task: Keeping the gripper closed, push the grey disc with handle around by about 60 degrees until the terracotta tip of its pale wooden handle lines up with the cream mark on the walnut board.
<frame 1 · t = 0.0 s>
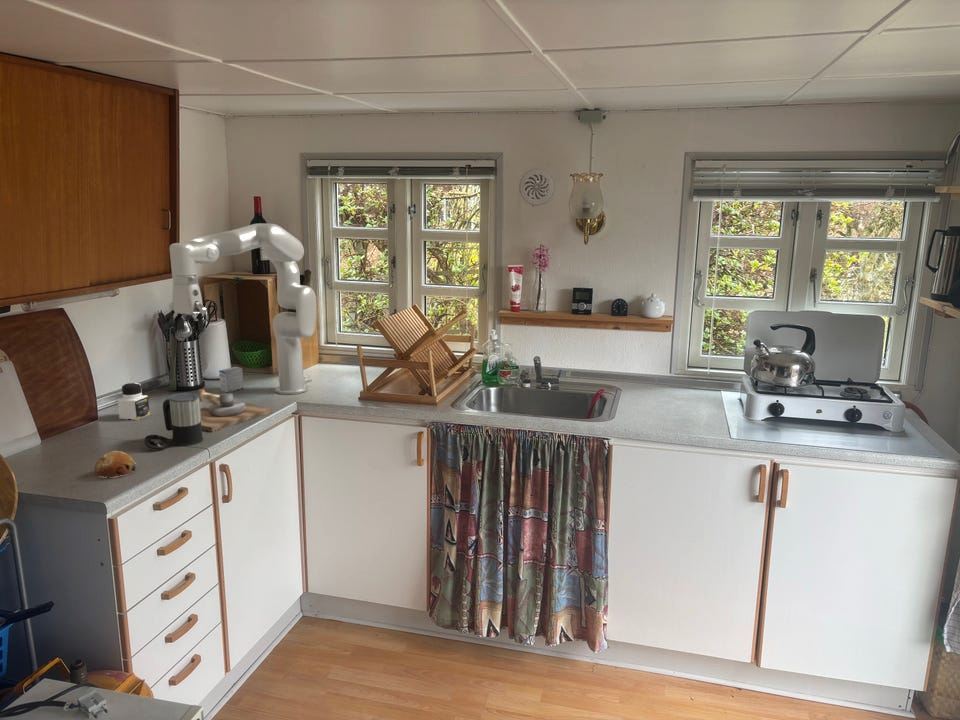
hand: (189, 331, 246), 31 cm above the countertop, tool pointing down, fingers open, 9 cm apart
medicine bottle: (134, 417, 256), on the countertop
board: (221, 417, 255), on the countertop
medicine box: (232, 390, 292), on the countertop
milk frother: (175, 445, 227), on the countertop
grey disc with handle: (219, 401, 257), point 5 cm above the countertop, hinge at 0.0°
bread roll: (117, 473, 203), on the countertop
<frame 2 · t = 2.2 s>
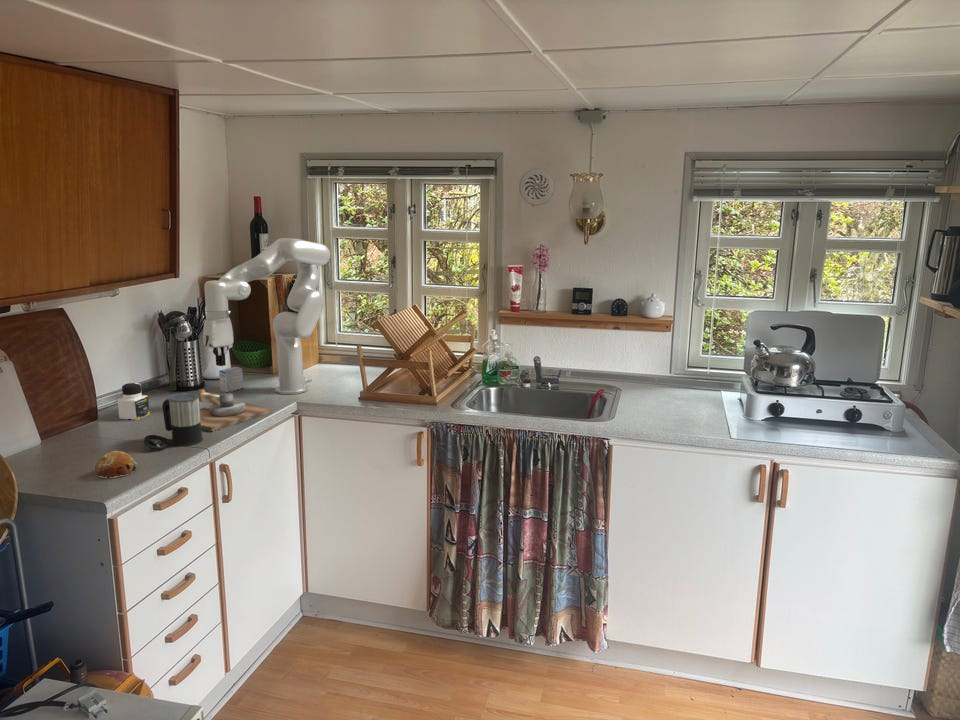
hand: (220, 365, 264), 16 cm above the countertop, tool pointing down, fingers closed
nothing on the countertop moved.
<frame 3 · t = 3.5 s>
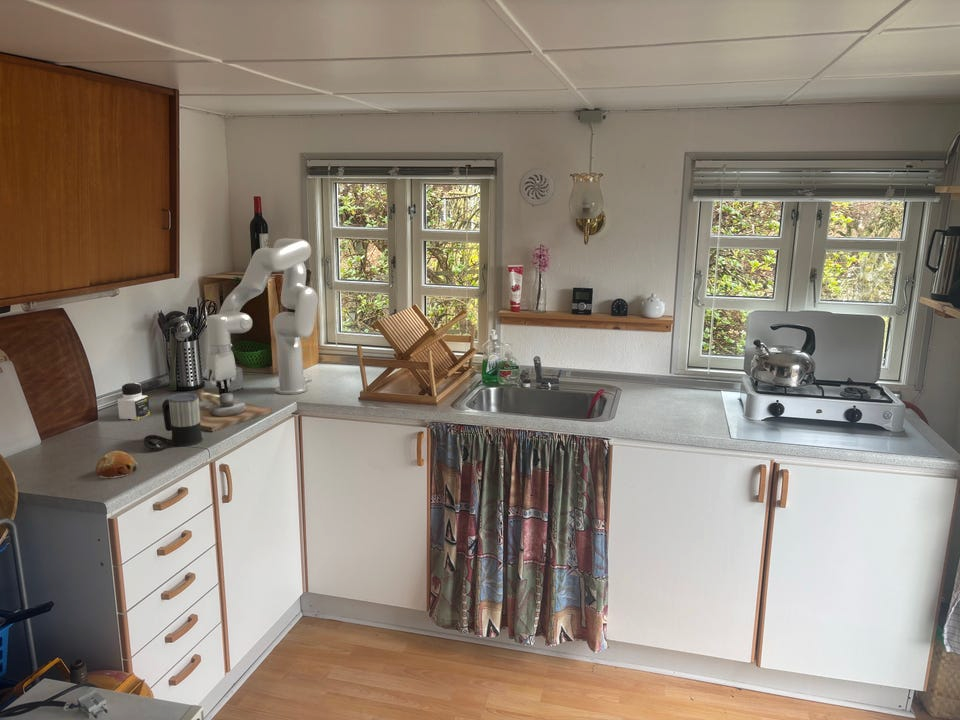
hand: (224, 397, 266), 4 cm above the countertop, tool pointing down, fingers closed
nothing on the countertop moved.
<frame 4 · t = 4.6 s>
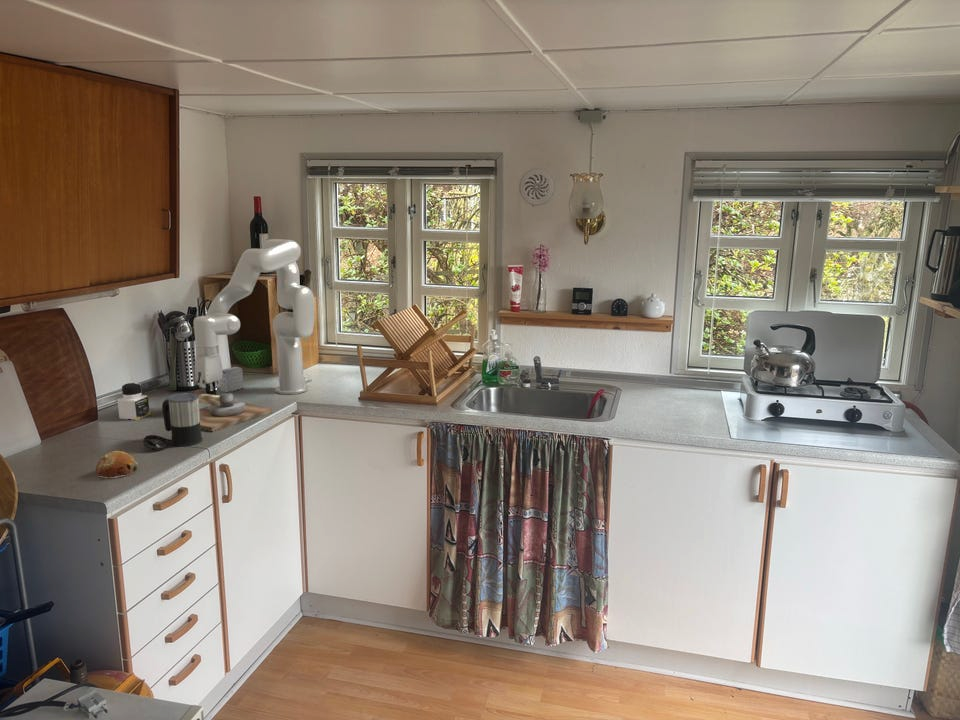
hand: (212, 400, 262), 4 cm above the countertop, tool pointing down, fingers closed
grey disc with handle: (217, 401, 257), point 5 cm above the countertop, hinge at 6.8°, touching gripper
everything else where it was.
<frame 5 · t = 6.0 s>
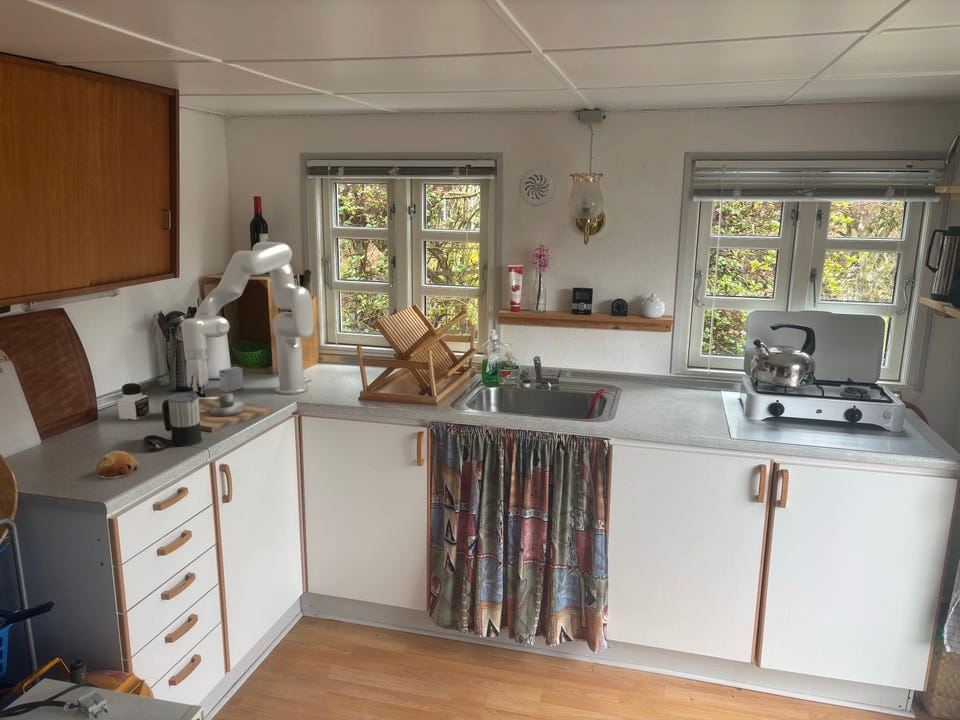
hand: (201, 404, 258), 4 cm above the countertop, tool pointing down, fingers closed
grey disc with handle: (214, 403, 255), point 5 cm above the countertop, hinge at 35.6°, touching gripper
everything else where it was.
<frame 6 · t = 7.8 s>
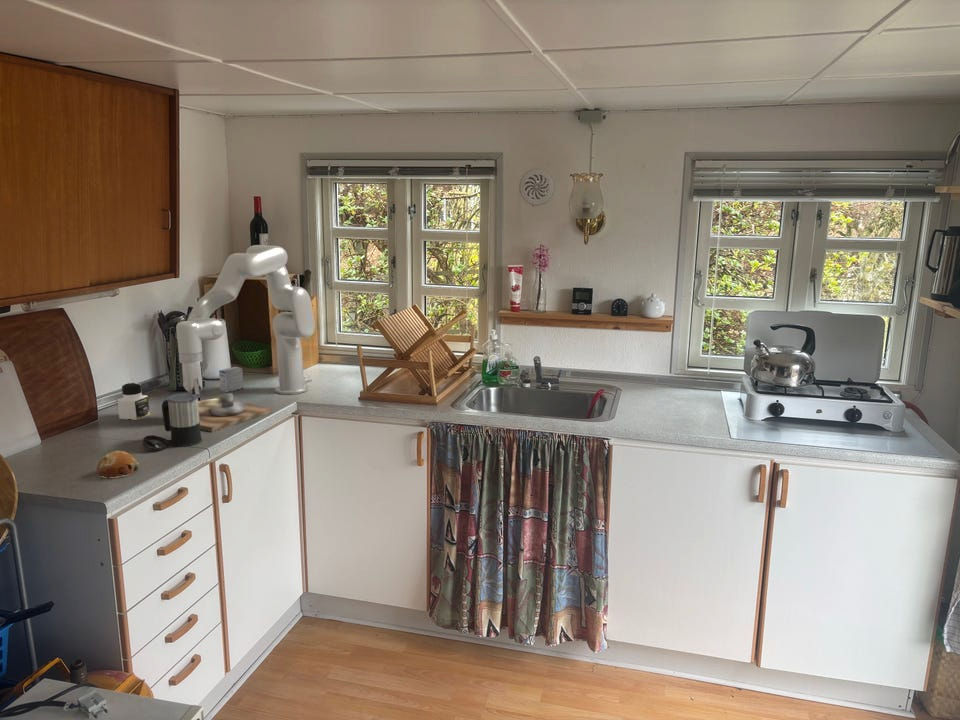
hand: (196, 408, 253), 4 cm above the countertop, tool pointing down, fingers closed
grey disc with handle: (214, 404, 253), point 5 cm above the countertop, hinge at 65.4°, touching gripper
everything else where it was.
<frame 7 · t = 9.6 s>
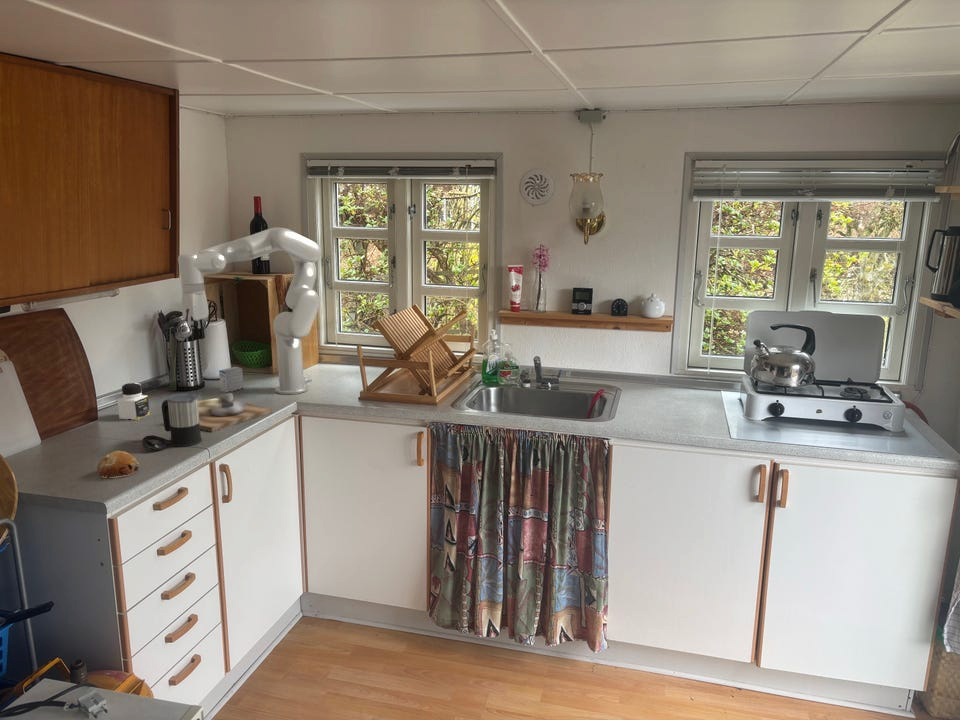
hand: (199, 338, 263), 26 cm above the countertop, tool pointing down, fingers closed
grey disc with handle: (214, 404, 253), point 5 cm above the countertop, hinge at 65.5°
everything else where it was.
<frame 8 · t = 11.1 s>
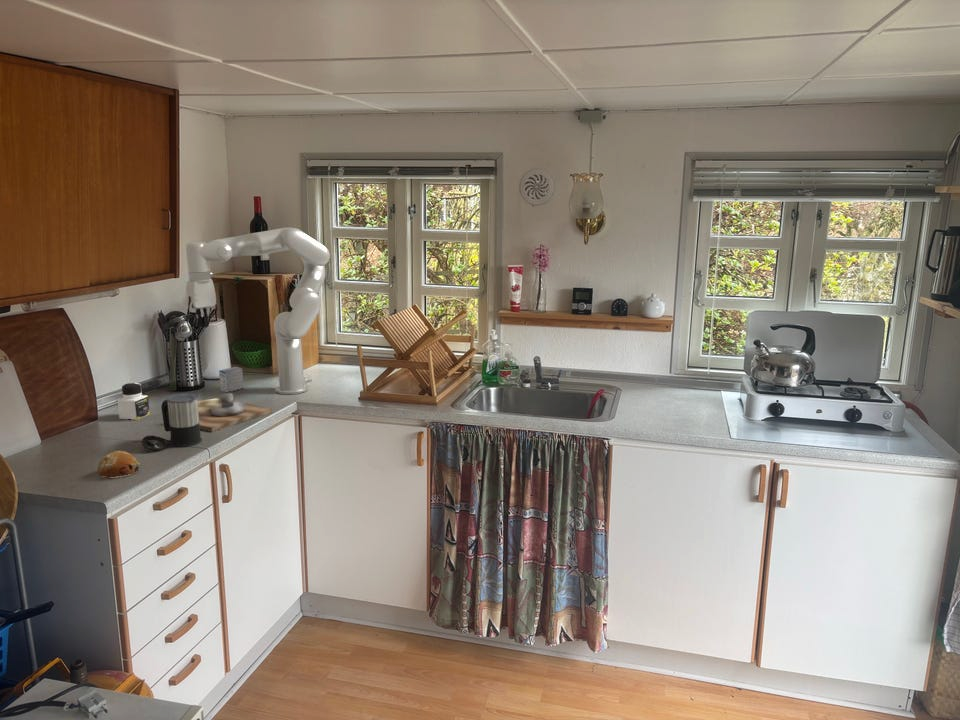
hand: (204, 326, 267), 29 cm above the countertop, tool pointing down, fingers closed
at the end: grey disc with handle at +66° (first picture: +0°); medicine bottle moved 0.2 cm from its start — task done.
